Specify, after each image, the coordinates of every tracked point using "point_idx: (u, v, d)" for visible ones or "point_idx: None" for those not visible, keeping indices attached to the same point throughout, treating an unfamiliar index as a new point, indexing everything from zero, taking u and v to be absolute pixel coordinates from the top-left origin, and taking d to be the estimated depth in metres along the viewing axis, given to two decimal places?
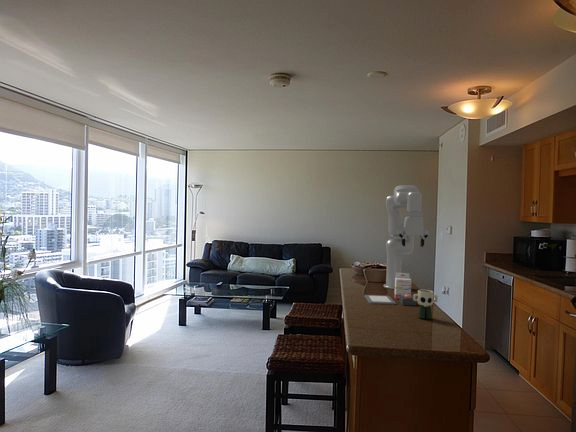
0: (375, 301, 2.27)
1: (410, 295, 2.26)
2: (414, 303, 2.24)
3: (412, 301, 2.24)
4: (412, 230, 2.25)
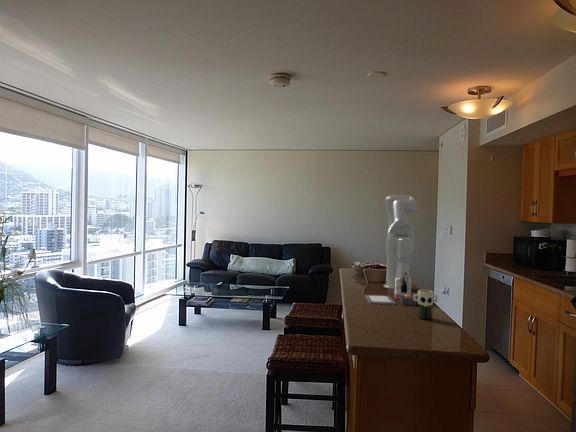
0: (375, 301, 2.27)
1: (410, 295, 2.26)
2: (414, 303, 2.24)
3: (412, 301, 2.24)
4: None
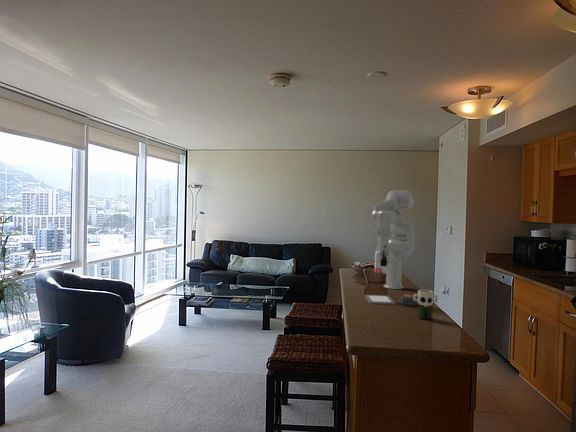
0: (375, 301, 2.27)
1: (410, 295, 2.26)
2: (414, 303, 2.24)
3: (412, 301, 2.24)
4: None
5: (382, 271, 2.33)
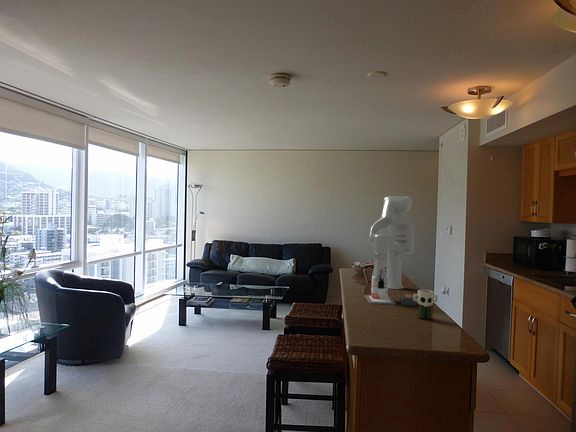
0: (375, 301, 2.27)
1: (410, 295, 2.26)
2: (414, 303, 2.24)
3: (412, 301, 2.24)
4: None
5: (379, 296, 2.34)
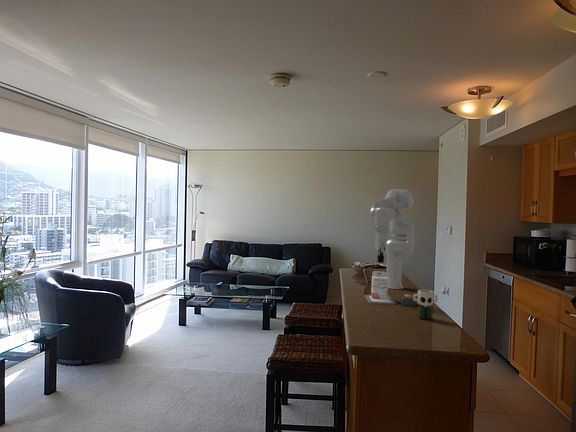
0: (375, 301, 2.27)
1: (410, 295, 2.26)
2: (414, 303, 2.24)
3: (412, 301, 2.24)
4: None
5: (379, 296, 2.34)
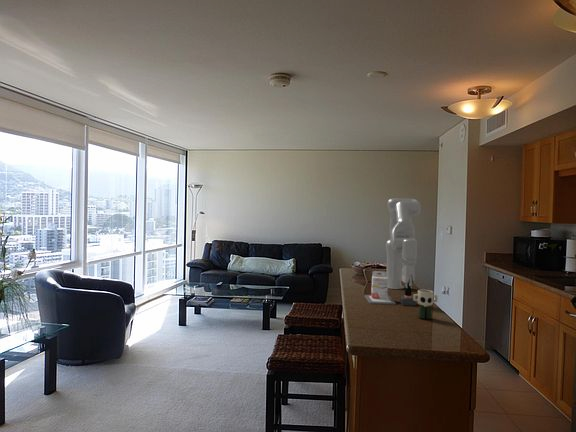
0: (375, 301, 2.27)
1: None
2: (414, 303, 2.24)
3: (412, 301, 2.24)
4: None
5: (379, 296, 2.34)
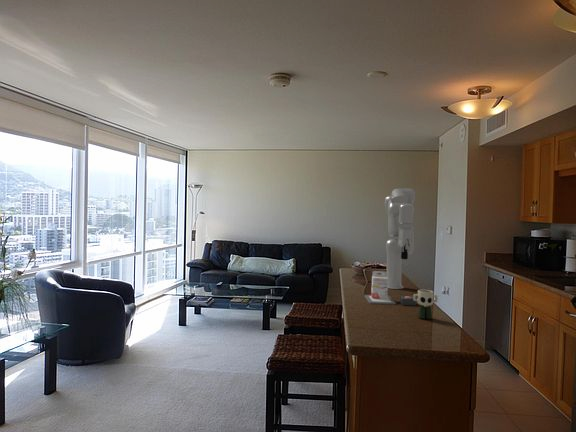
0: (375, 301, 2.27)
1: (410, 297, 2.26)
2: (414, 303, 2.24)
3: (412, 301, 2.24)
4: None
5: (379, 296, 2.34)
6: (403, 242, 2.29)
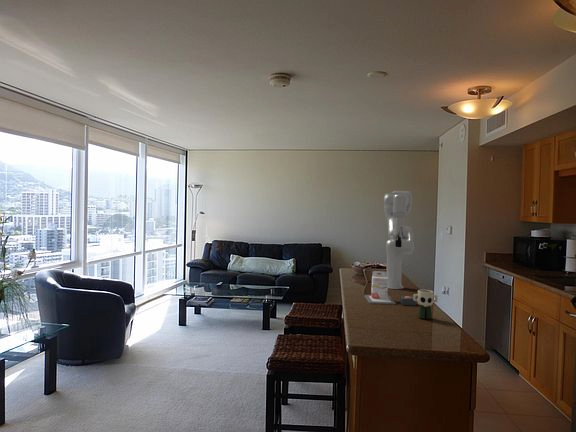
0: (375, 301, 2.27)
1: (410, 297, 2.26)
2: (414, 303, 2.24)
3: (412, 301, 2.24)
4: None
5: (379, 296, 2.34)
6: (397, 230, 2.39)
